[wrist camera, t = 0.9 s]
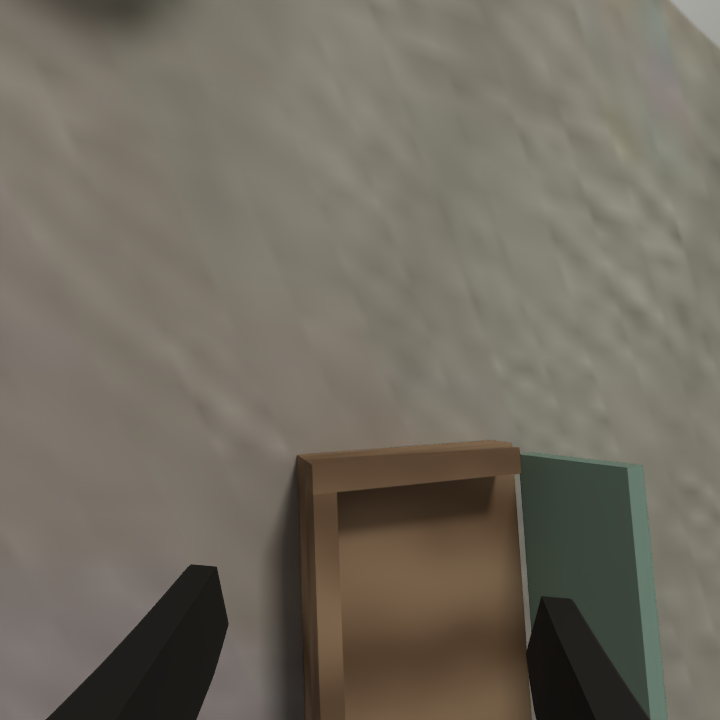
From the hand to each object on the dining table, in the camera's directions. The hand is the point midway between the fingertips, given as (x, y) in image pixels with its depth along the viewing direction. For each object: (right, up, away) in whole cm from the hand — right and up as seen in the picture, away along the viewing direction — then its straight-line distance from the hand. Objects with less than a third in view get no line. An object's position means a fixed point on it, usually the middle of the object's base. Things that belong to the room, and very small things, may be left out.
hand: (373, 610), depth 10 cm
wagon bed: (+2, -9, +13) cm, 16 cm away
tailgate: (+9, -9, +13) cm, 18 cm away
